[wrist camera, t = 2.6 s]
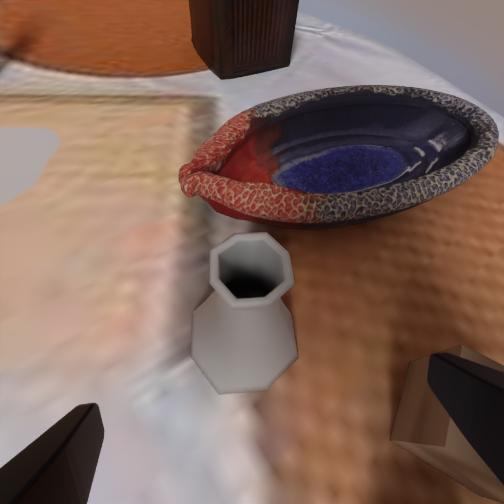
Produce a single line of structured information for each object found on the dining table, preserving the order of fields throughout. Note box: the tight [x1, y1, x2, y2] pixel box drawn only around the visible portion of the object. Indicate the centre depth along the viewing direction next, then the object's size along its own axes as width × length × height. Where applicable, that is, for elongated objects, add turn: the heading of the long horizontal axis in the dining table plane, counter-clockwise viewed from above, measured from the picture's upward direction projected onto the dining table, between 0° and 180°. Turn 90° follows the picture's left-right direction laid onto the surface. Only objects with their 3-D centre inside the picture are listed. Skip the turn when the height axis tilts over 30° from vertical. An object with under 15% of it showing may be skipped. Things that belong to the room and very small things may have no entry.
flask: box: [191, 232, 298, 395], centre depth 15 cm, size 7×7×10 cm
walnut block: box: [390, 345, 504, 503], centre depth 15 cm, size 5×5×5 cm
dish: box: [179, 85, 499, 230], centre depth 26 cm, size 16×31×5 cm, turn 108°
